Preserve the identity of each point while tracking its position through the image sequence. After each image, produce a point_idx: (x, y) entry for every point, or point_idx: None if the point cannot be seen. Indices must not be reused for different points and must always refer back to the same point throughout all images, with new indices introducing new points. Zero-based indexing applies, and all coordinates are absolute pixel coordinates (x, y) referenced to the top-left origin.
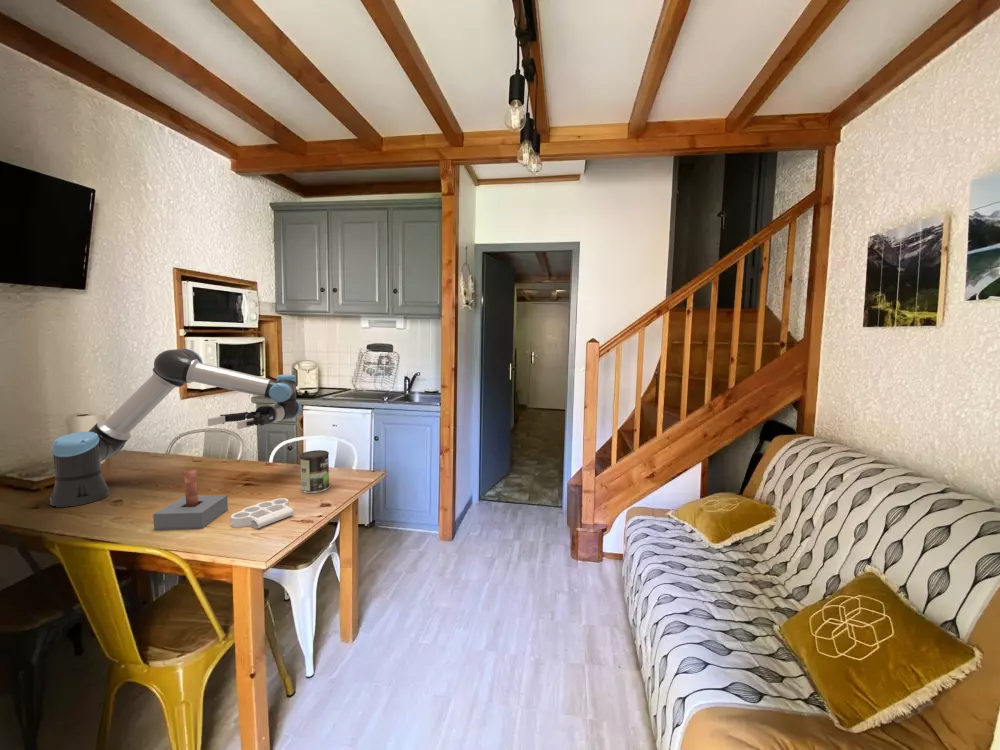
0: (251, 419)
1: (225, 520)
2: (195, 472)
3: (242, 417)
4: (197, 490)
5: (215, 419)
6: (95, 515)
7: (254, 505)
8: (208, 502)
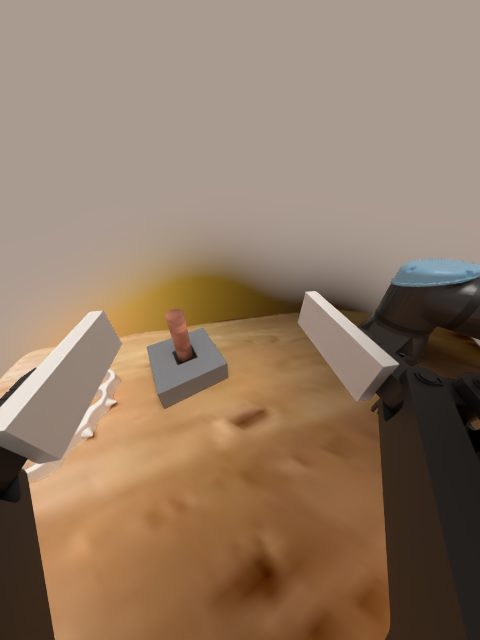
0: (8, 405)
1: (138, 383)
2: (166, 318)
3: (424, 635)
4: (174, 344)
5: (323, 320)
6: (302, 335)
7: (90, 410)
8: (165, 365)
